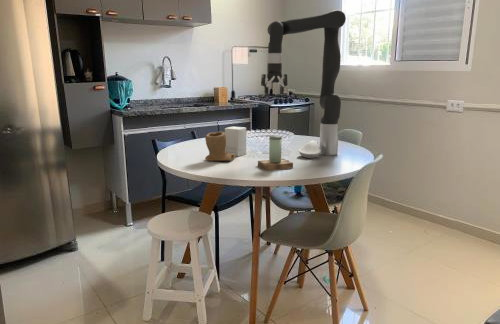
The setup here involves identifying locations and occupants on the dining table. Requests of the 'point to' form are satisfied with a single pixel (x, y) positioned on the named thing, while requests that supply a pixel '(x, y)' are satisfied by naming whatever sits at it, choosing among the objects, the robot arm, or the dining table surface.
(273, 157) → the tea tin
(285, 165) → the dock
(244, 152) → the supplement box
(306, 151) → the spoon rest
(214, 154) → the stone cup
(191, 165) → the dining table surface
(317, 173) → the dining table surface
